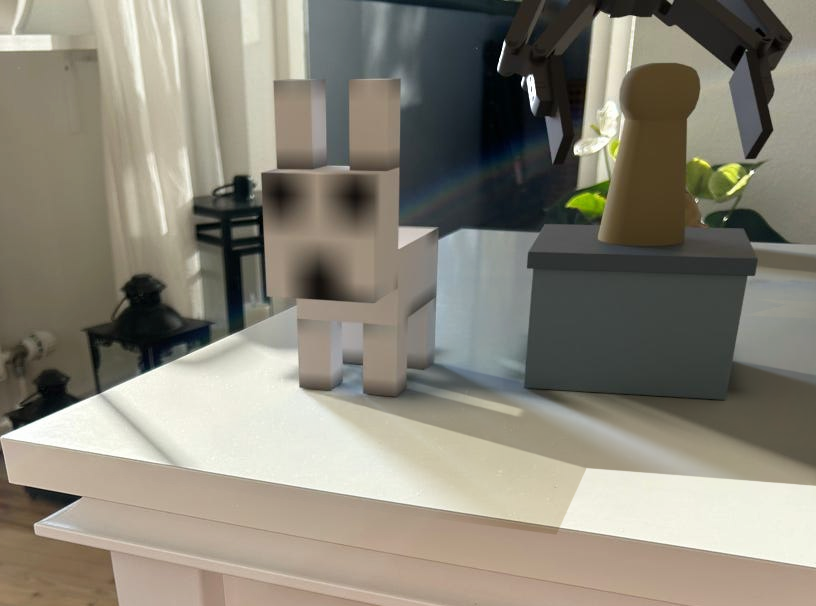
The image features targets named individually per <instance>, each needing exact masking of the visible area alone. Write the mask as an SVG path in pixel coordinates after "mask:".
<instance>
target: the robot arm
mask: <svg viewBox="0 0 816 606" xmlns="http://www.w3.org/2000/svg"><path fill="white" fill-rule="evenodd" d="M545 3H546V0H521V2H520V4H519V7H518V9H517V11H516V13H515V16H514V18H513V20H512V21H511V22H512V23H511V24H510V27H509V29H508V31H507V33H506V35H505V38H504V41H503V45H502V49H501V53H500V57H499V61H498V64H497V73H498V74H499V75H500V76H502V77H511V76H513V75H514V74H517V75H519V76H521V77H522V80H521V82H520V84H521V88H522V90H523V91H524V92H527V93H528V98H529V105H530V111H531V112H532V114H533V116H534V117H536V118H537V117H542V118H543V117H544V118H545V123H546V131H547V136H548V144H549V149H550V156H551V162H552V165H553V166H561V165H562V166H563V165H564V164H565V162H566V159H567V156H568V154H569V151H570V148H571V145H572V144H573V141H574V138H575V130H574V124H573V118H572V113H571V112H572V111H571V106H570V100H569V93H568V88H567V81H566V75H565V69H564V62H563V57H562V55H563V54H564V53H565V51H566V50H567V49H568V48H569V46H571V44H572V43H573V41H574V40H575V39H577V37H578V36H579V34H580V33H581V32H582V31H583V30H584V29H587V28H588V27H589V26H590V25H591V24H592V23H593V21H595V19H596V18H597V17H598V15H599V14H600V13H603V14H606V15H608V18H609V19H620V18H621V19H622V18H625V17H629V16H631V17H637V18H652V17H653V16H654V17H656V18H657V19H658V20H659V21H661V23H663V24H664V25H665V26H667V27H674V26H676V27H677V28H679V29H680V30H681V31H682V32H684V33H685V34H686V35H688V37H690V38H691V39H693V40H694V41H695V42H696V43H698V44H699V45H700V46H701V47H702V48H704V49H705V50H706V51H708V52H709V53H710V54H711V55H712V56H714V57H715V58H716V59H718V61H720V62H721V63H722V64H723V65H725V66H726V67H727V68H729V69H730V70H731V71H732V72H733V73H732V75H731V77H730V79H729V81H728V86H729V90H730V94H731V95H730V96H731V100H732V104H733V109H734V114H735V120H736V123H737V128H738V133H739V138H740V143H741V147H742V152H743V157H744V160H756V159H757V158H758V156H759V154H760V153H761V151H762V150H763V148H764V146H765V145H766V144H767V141H768V140H769V138H770V137H771V135H772V133H773V132H774V126H773V125H774V124H773V122H772V117H771V116H772V115H771V112H770V108H769V105H770V102H771V100H772V99H773V97H774V95H775V90H776V89H775V85H774V81H773V76H772V72H773V71H775V70H776V69H777V67H778V65H779V63H780V62H781V60H782V59H783V57H784V55H785V53H786V51H787V50H788V49H789V46H790V45H791V43H792V41H793V35H792V33H791V32H790V30H789V29H788V28H787V27H786V25H785V24H784V23H783V21H782V20H780V18H779V17H778V16H777V14H776V13H774V11H773V10H772V9H771V8H770V7H769V5H768V4H767V3H766V1H765V0H673V1H672V2H670V1H668V0H570V1H569V2H568V3H567V4H566V5H565V6H564V7H563V9H561V11H560V12H559V13H558V14H557V16H556V17H555V18H554V19H553V20H552V21H551V23H550V24H549V25H548V26H547V27H546V28H545V30H544V31H543V32H542V33H541V34H540V36H538V38H537V39H536V40H535V42H534V43H533V44H528V42H529V39H530V38H531V35H532V33H533V31H534V29H535V26H536V24H537V22H538V19H539V17H540V15H541V14H542V13H541V12H542V10H543V9H544V6H545Z"/></svg>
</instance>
